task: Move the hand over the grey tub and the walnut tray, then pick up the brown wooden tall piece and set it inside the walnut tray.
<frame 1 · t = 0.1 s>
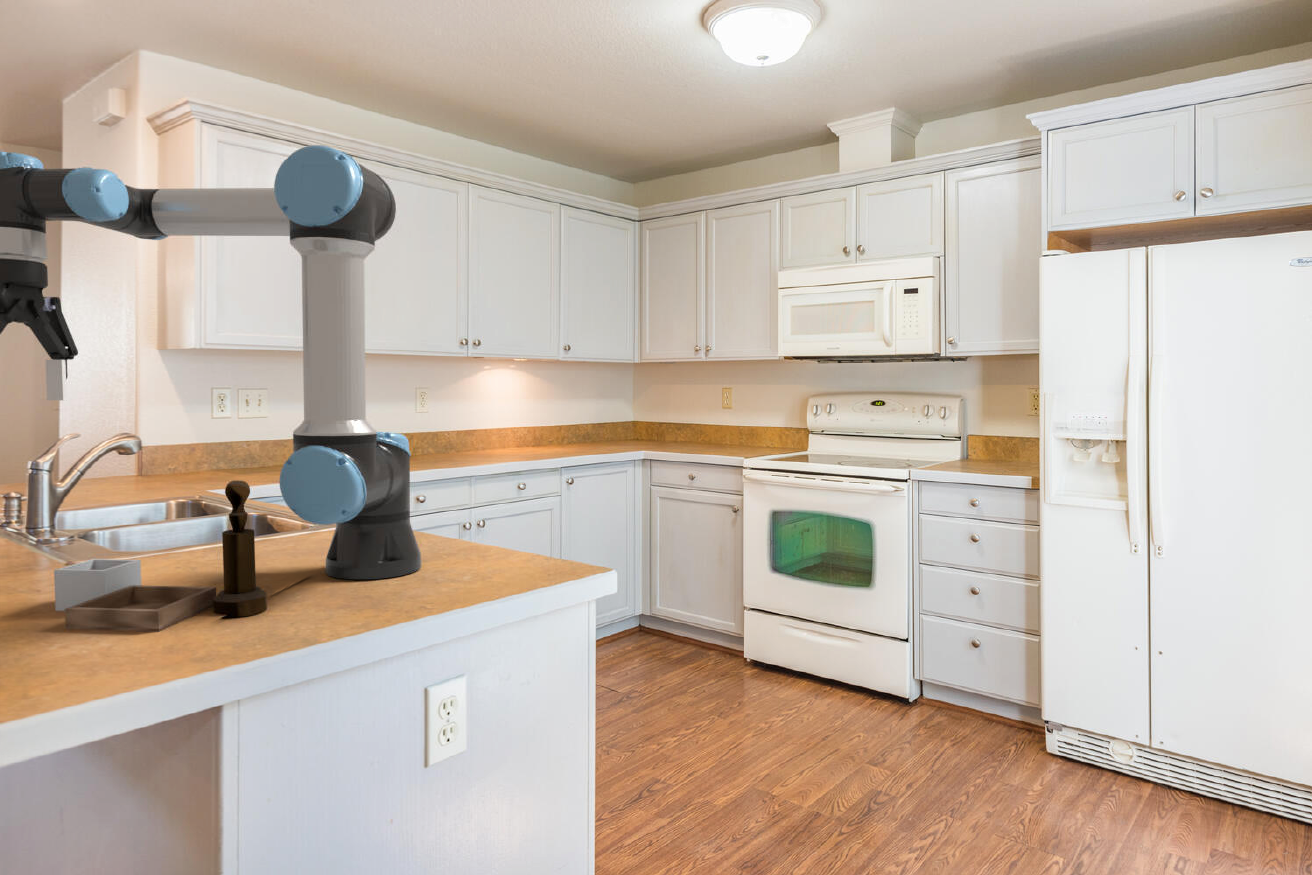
hand: (21, 401, 125), 28 cm above the counter, fingers open, 13 cm apart
walnut tray: (145, 620, 107), on the counter
brown wooden tall piece: (240, 613, 112), on the counter
grey tub: (100, 607, 113), on the counter
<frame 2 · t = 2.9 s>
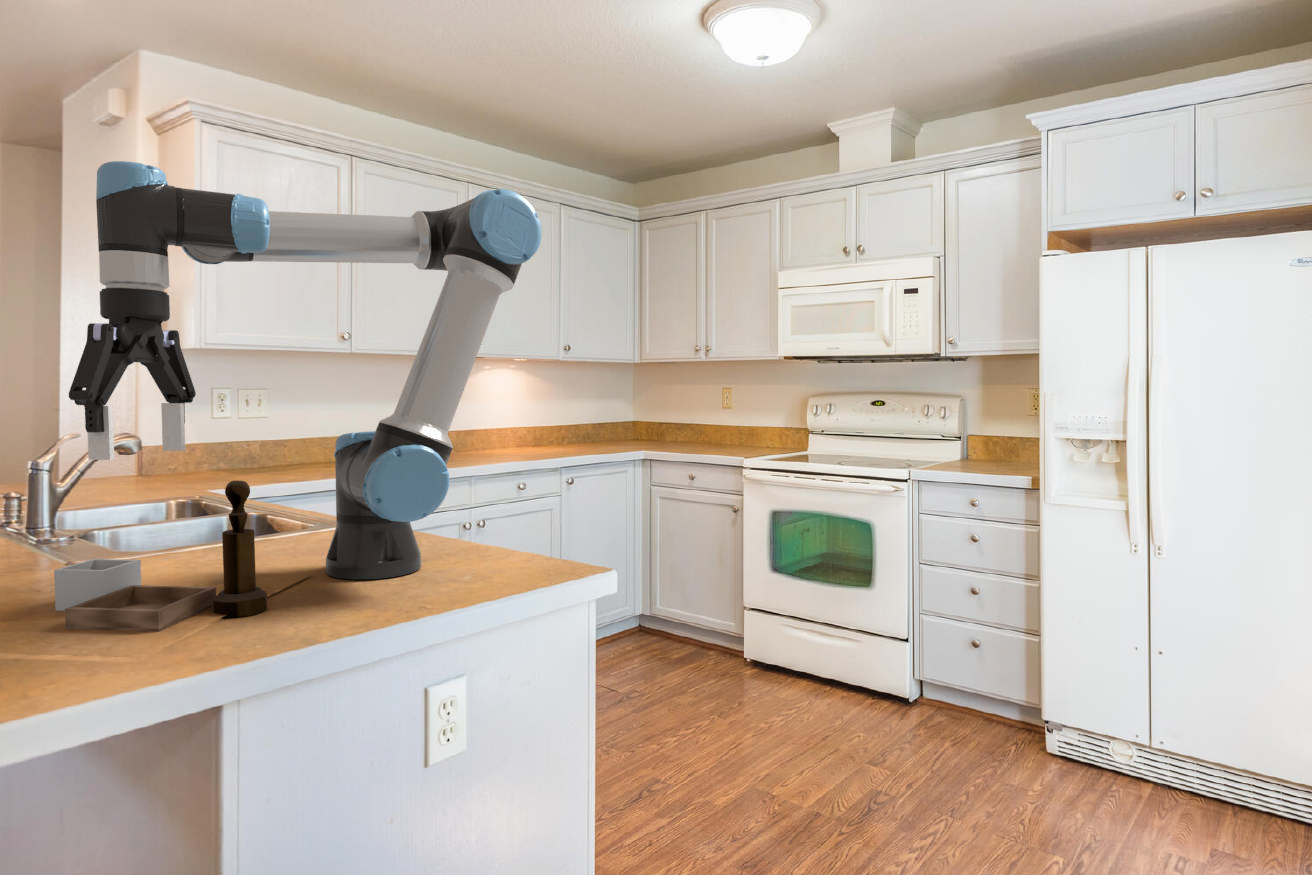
hand: (140, 455, 106), 22 cm above the counter, fingers open, 13 cm apart
nothing on the counter moved.
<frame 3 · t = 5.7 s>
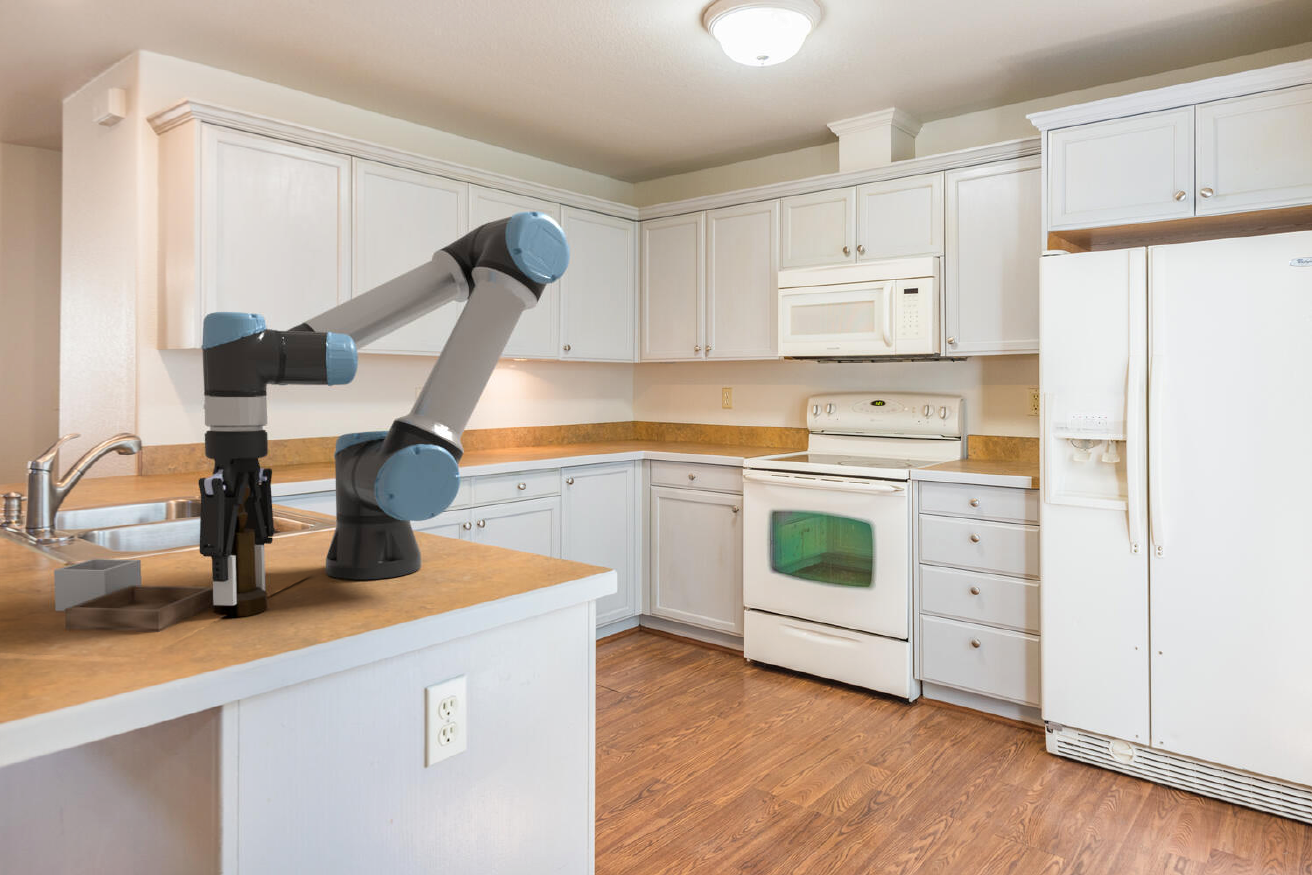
hand: (240, 597, 111), 2 cm above the counter, fingers closed on brown wooden tall piece, 6 cm apart
brown wooden tall piece: (240, 613, 112), on the counter, touching gripper
everything else where it was.
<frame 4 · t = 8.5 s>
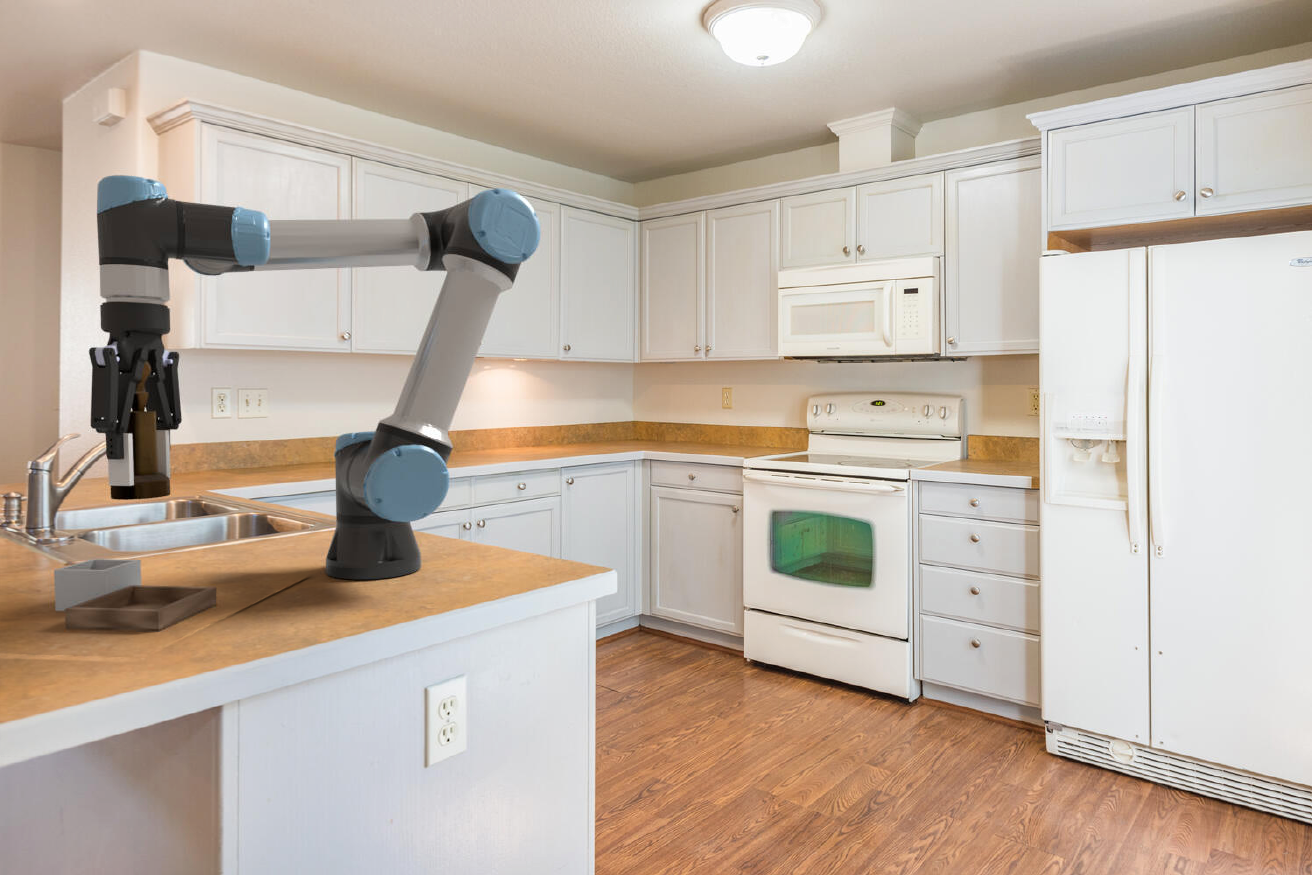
hand: (140, 481, 106), 18 cm above the counter, fingers closed on brown wooden tall piece, 6 cm apart
brown wooden tall piece: (141, 498, 106), point 16 cm above the counter, touching gripper
everything else where it was.
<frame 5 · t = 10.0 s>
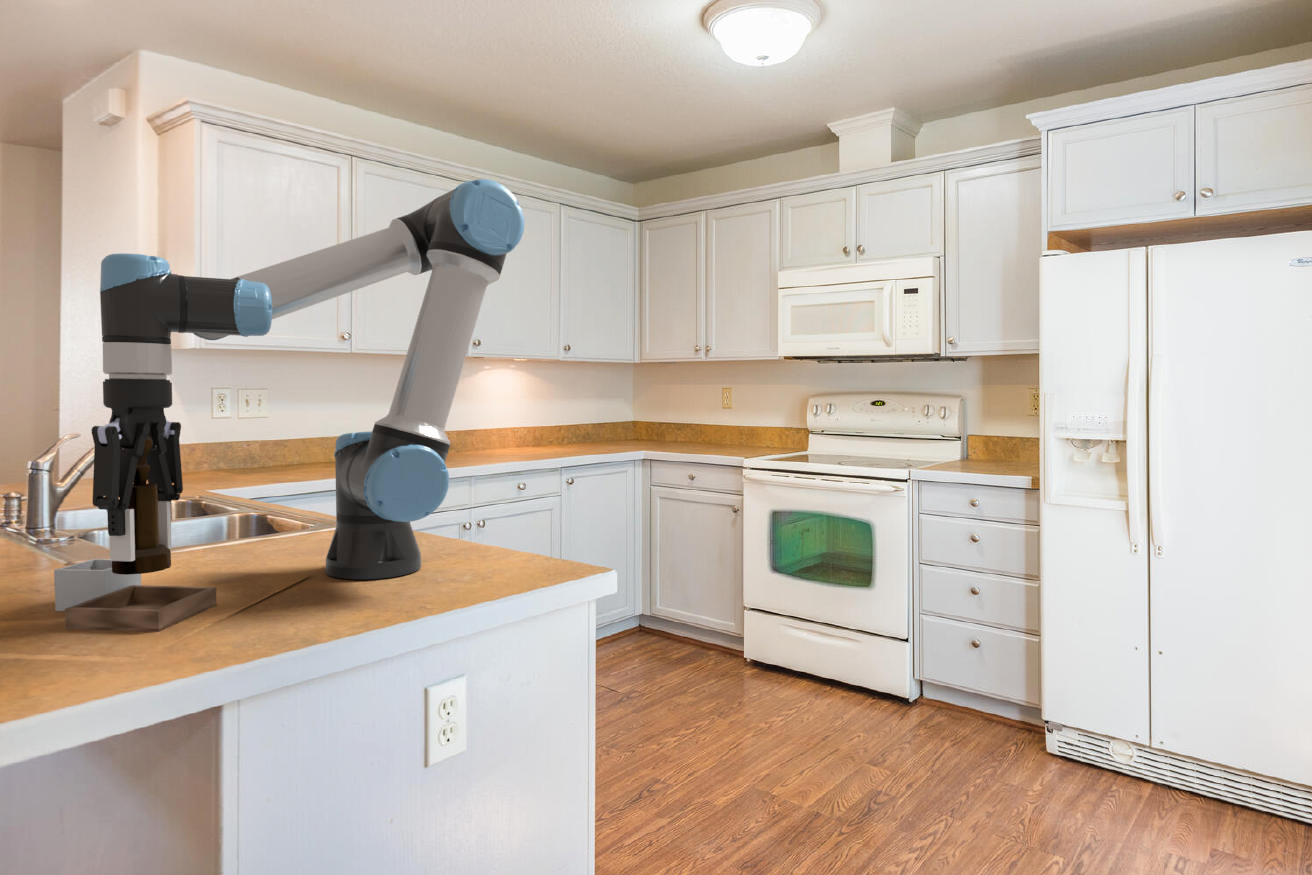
hand: (142, 554, 106), 9 cm above the counter, fingers closed on brown wooden tall piece, 6 cm apart
brown wooden tall piece: (142, 570, 107), point 7 cm above the counter, touching gripper
everything else where it was.
when the fingers open (4 cm above the counter, at t = 11.2 s): brown wooden tall piece drops 2 cm, resting on walnut tray.
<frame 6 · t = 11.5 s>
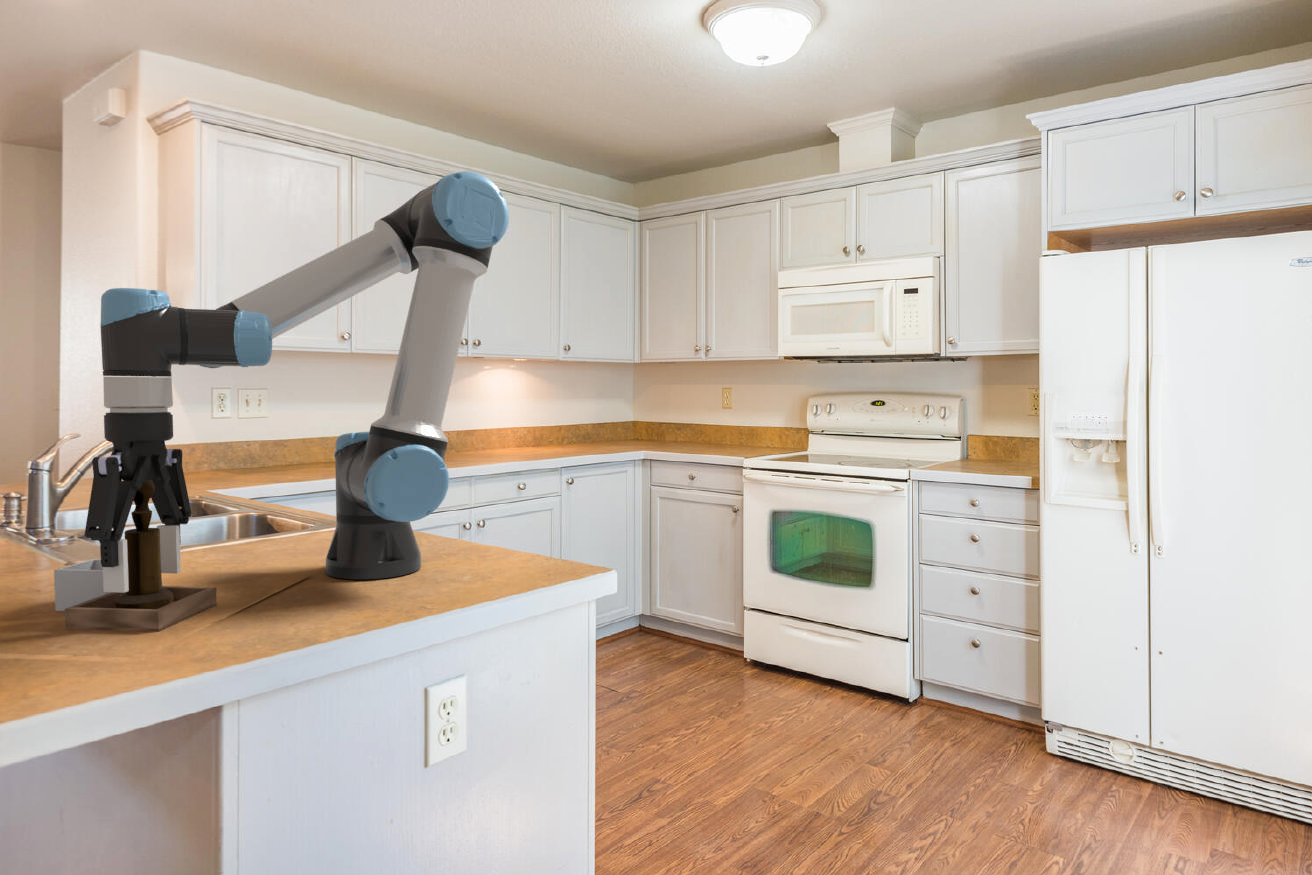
hand: (144, 581, 107), 5 cm above the counter, fingers open, 9 cm apart
brown wooden tall piece: (145, 615, 107), point 1 cm above the counter, touching walnut tray
everything else where it was.
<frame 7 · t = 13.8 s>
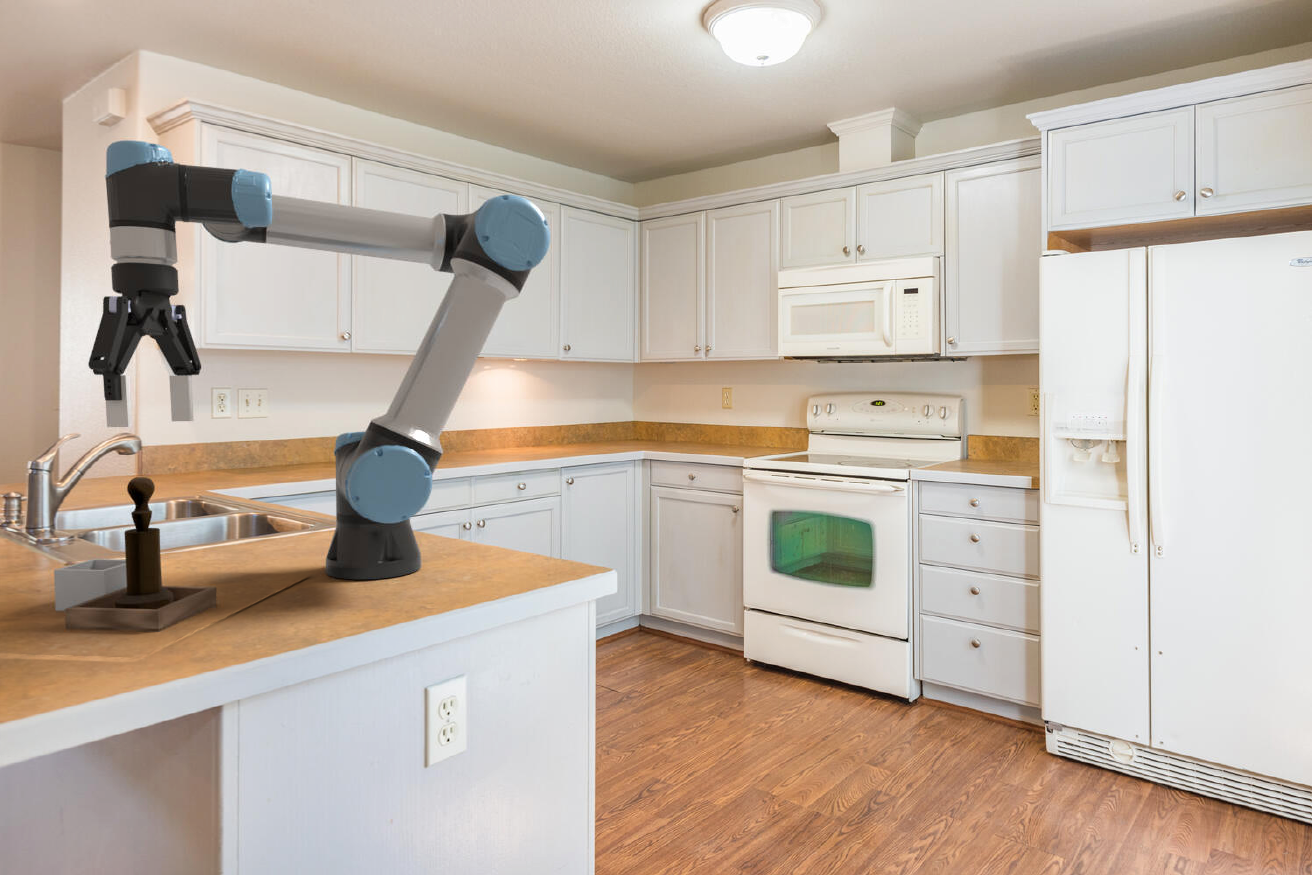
hand: (153, 424, 110), 25 cm above the counter, fingers open, 13 cm apart
nothing on the counter moved.
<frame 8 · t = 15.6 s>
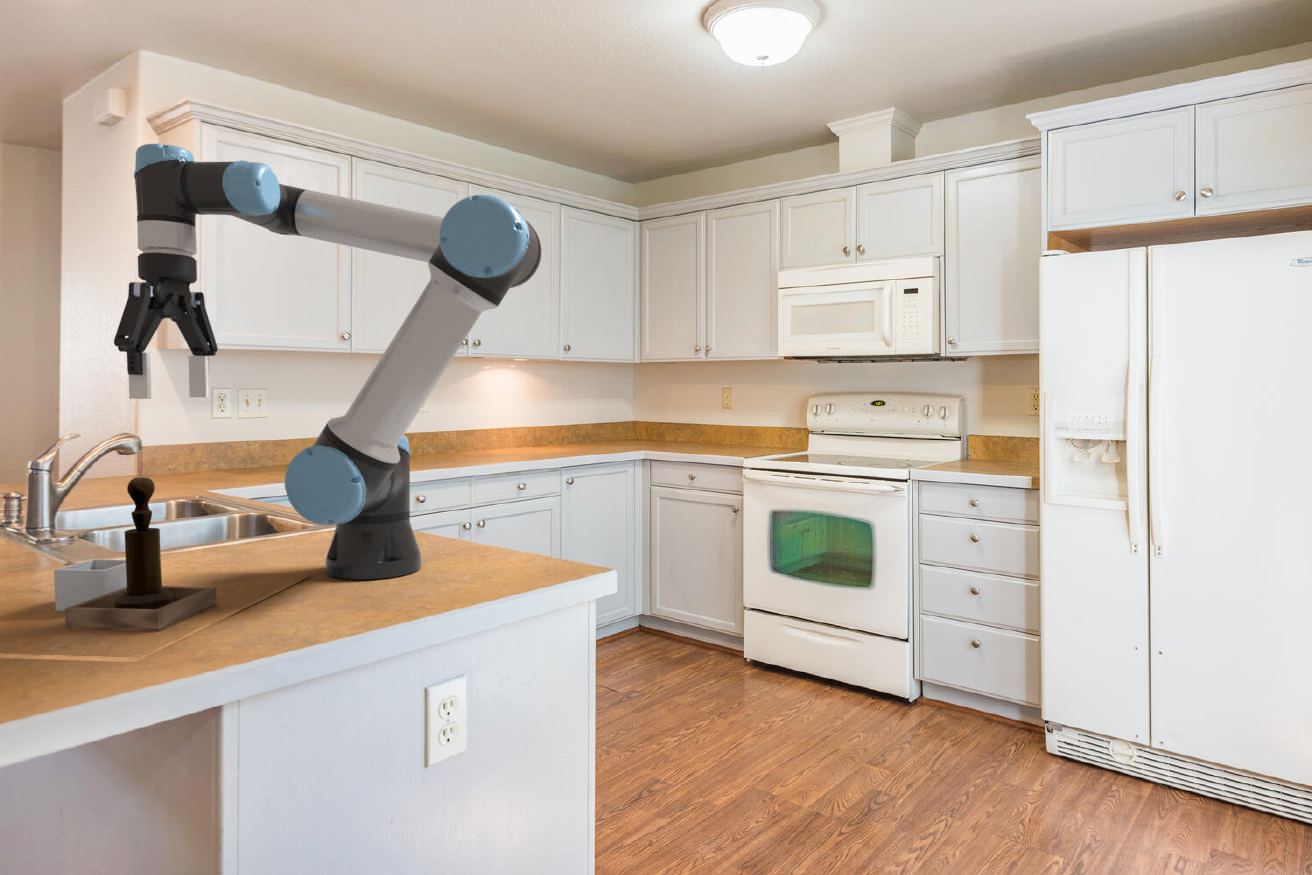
hand: (171, 398, 123), 29 cm above the counter, fingers open, 13 cm apart
nothing on the counter moved.
at the end: brown wooden tall piece inside the target area on the walnut tray (0.0 cm from its centre), point 0.6 cm above the walnut tray's base; brown wooden tall piece tilted 0°; the gripper is holding nothing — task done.
